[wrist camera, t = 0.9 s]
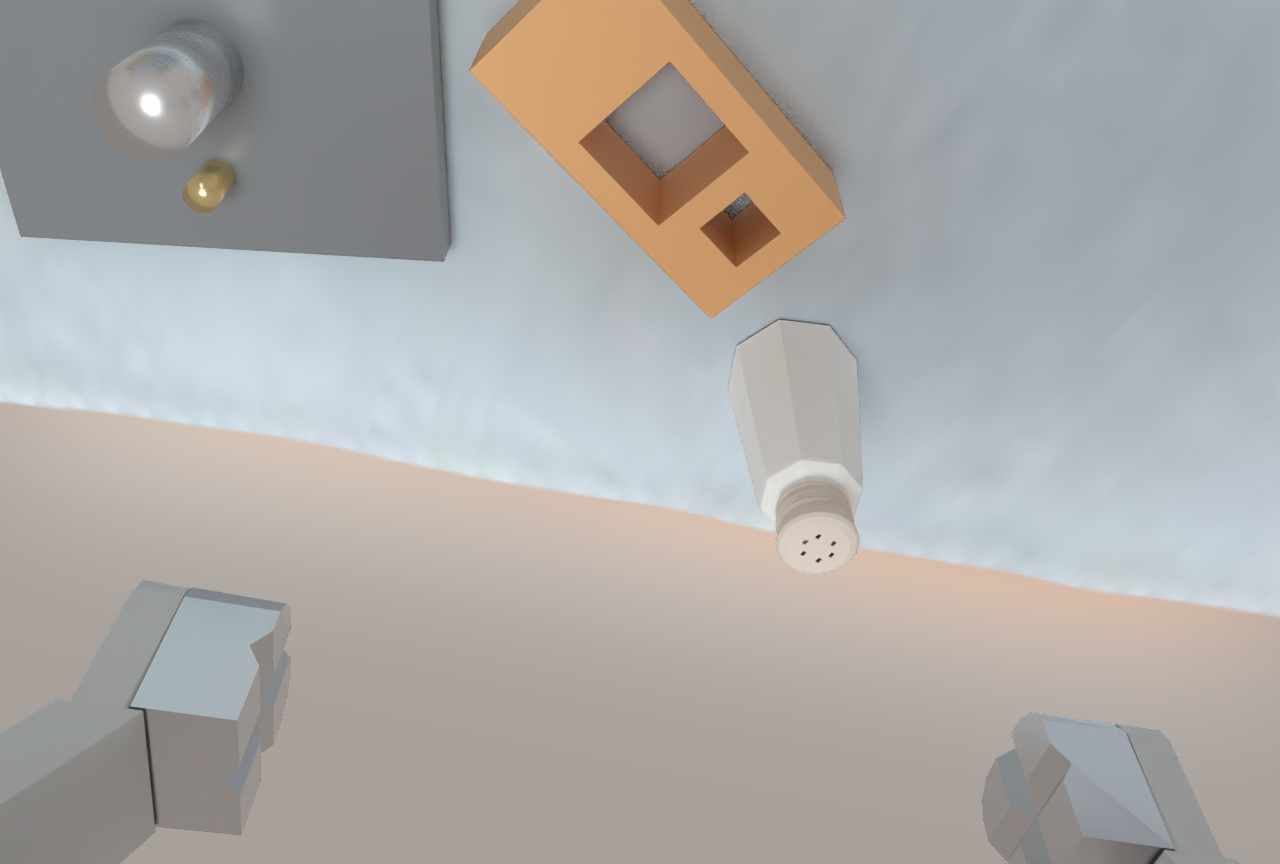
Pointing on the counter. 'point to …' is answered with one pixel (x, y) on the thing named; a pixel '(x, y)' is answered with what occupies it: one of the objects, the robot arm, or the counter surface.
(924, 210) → the counter surface
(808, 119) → the counter surface
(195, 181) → the brass pin
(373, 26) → the base plate
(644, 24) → the orange block with recesses
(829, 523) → the pepper shaker
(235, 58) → the steel post
